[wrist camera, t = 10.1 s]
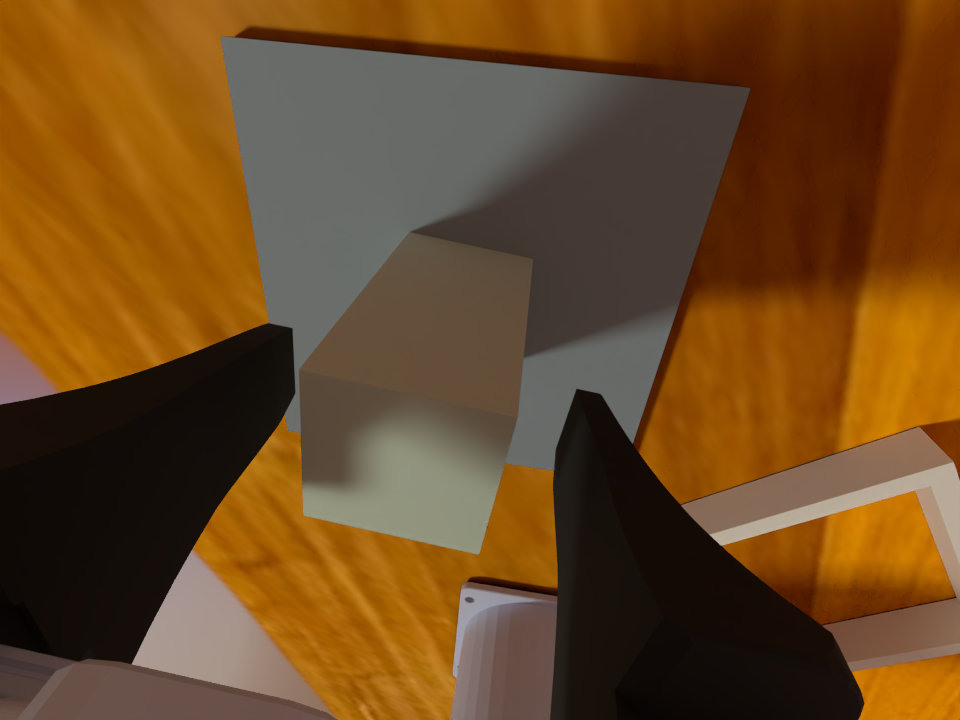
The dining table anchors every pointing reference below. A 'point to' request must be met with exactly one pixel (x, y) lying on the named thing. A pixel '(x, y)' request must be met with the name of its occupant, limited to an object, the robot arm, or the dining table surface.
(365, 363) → the block
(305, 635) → the dining table surface
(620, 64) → the dining table surface
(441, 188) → the mat
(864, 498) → the rectangular frame
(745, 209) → the dining table surface
